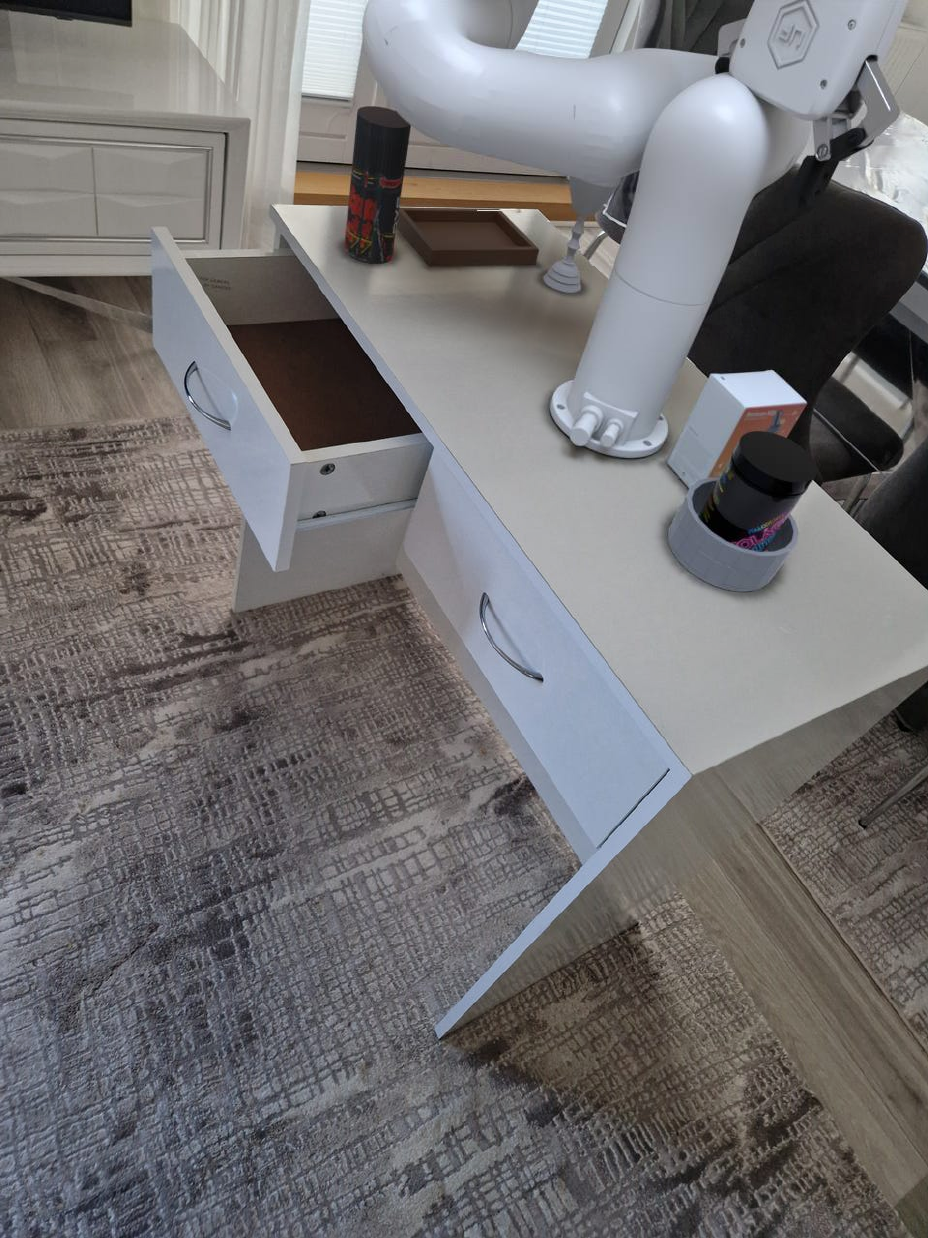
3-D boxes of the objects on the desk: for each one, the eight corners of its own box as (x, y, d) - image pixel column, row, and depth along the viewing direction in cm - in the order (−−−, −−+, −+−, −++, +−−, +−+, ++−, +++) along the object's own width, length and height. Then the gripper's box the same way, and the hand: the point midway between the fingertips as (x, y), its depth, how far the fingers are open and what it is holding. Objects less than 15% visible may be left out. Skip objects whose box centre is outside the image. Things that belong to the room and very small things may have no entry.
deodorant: (343, 237, 101) (356, 102, 90) (391, 244, 102) (409, 112, 91) (344, 259, 97) (357, 121, 86) (393, 266, 98) (413, 131, 88)
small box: (695, 499, 79) (744, 407, 72) (665, 463, 82) (709, 371, 75) (757, 490, 82) (810, 402, 75) (725, 456, 86) (773, 367, 78)
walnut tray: (429, 266, 100) (432, 250, 99) (393, 223, 107) (395, 206, 105) (535, 264, 107) (539, 249, 106) (495, 223, 113) (499, 208, 112)
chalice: (529, 283, 103) (571, 128, 90) (541, 263, 108) (583, 113, 95) (584, 302, 103) (634, 149, 90) (593, 281, 107) (642, 132, 94)
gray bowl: (765, 608, 71) (791, 572, 67) (656, 561, 72) (676, 523, 68) (779, 542, 77) (803, 506, 74) (679, 499, 79) (699, 462, 75)
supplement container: (699, 570, 71) (754, 477, 64) (678, 519, 76) (728, 426, 68) (768, 576, 73) (830, 486, 65) (744, 525, 77) (799, 435, 70)
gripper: (743, -131, 56) (652, 140, 68) (945, -60, 47) (799, 236, 60) (813, -114, 59) (714, 141, 72) (1013, -45, 51) (862, 231, 63)
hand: (753, 184), depth 66 cm, fingers open, 9 cm apart
